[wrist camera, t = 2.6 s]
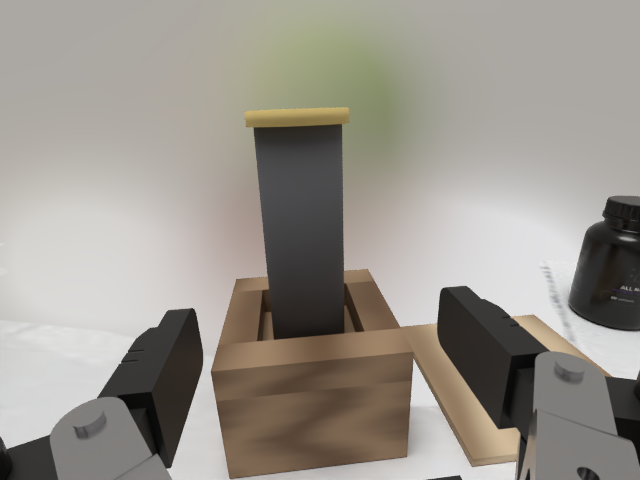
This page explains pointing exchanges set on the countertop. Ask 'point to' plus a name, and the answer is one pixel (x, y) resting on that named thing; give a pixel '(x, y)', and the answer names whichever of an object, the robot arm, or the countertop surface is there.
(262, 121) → the plug
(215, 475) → the countertop surface
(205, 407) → the countertop surface
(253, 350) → the socket block
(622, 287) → the supplement bottle
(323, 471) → the countertop surface
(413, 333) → the cork mat
